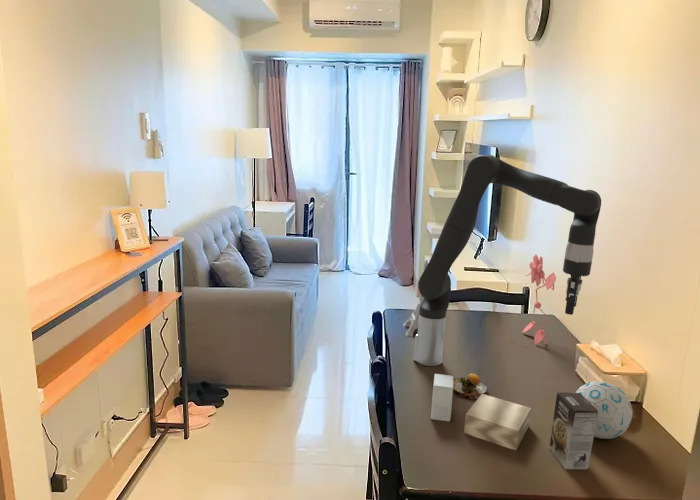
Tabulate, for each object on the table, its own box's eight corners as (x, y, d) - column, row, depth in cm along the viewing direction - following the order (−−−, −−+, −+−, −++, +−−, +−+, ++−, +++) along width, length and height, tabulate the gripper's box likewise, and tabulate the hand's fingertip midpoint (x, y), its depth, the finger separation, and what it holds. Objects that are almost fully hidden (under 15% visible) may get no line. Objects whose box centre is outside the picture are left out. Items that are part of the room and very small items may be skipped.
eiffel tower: (439, 338, 211) (446, 264, 205) (406, 336, 211) (411, 263, 205) (435, 326, 224) (440, 256, 218) (403, 324, 224) (408, 255, 218)
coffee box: (547, 448, 139) (555, 391, 135) (571, 448, 139) (580, 391, 136) (564, 470, 130) (573, 410, 126) (589, 469, 130) (599, 410, 127)
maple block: (463, 434, 144) (465, 414, 143) (479, 412, 156) (481, 393, 155) (515, 451, 137) (518, 430, 136) (528, 427, 149) (531, 408, 148)
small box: (450, 422, 149) (453, 388, 147) (430, 419, 150) (433, 385, 148) (450, 408, 157) (453, 375, 154) (431, 405, 158) (434, 372, 155)
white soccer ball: (560, 418, 154) (567, 370, 151) (612, 421, 154) (620, 373, 150) (580, 448, 139) (588, 396, 136) (638, 452, 139) (648, 399, 136)
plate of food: (463, 378, 177) (465, 358, 175) (494, 392, 169) (497, 370, 167) (442, 389, 168) (444, 368, 167) (474, 404, 160) (476, 381, 159)
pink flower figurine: (532, 328, 226) (542, 248, 219) (557, 353, 201) (569, 263, 194) (496, 327, 226) (505, 247, 218) (517, 351, 200) (528, 262, 193)
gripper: (567, 251, 165) (560, 301, 168) (562, 260, 152) (554, 314, 156) (593, 255, 161) (585, 306, 165) (590, 264, 149) (581, 319, 153)
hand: (570, 310), depth 160 cm, fingers open, 8 cm apart
